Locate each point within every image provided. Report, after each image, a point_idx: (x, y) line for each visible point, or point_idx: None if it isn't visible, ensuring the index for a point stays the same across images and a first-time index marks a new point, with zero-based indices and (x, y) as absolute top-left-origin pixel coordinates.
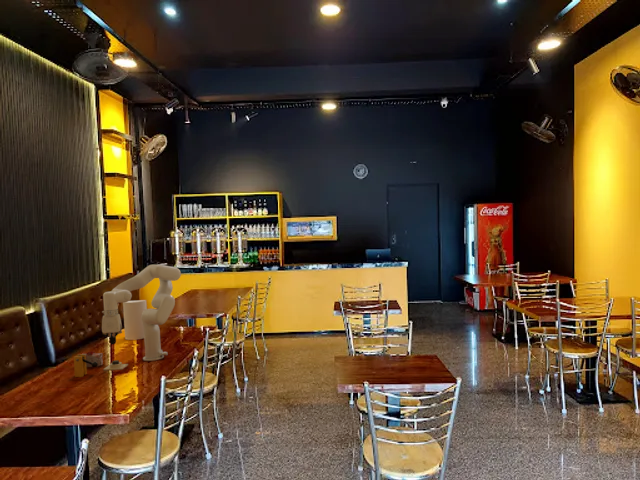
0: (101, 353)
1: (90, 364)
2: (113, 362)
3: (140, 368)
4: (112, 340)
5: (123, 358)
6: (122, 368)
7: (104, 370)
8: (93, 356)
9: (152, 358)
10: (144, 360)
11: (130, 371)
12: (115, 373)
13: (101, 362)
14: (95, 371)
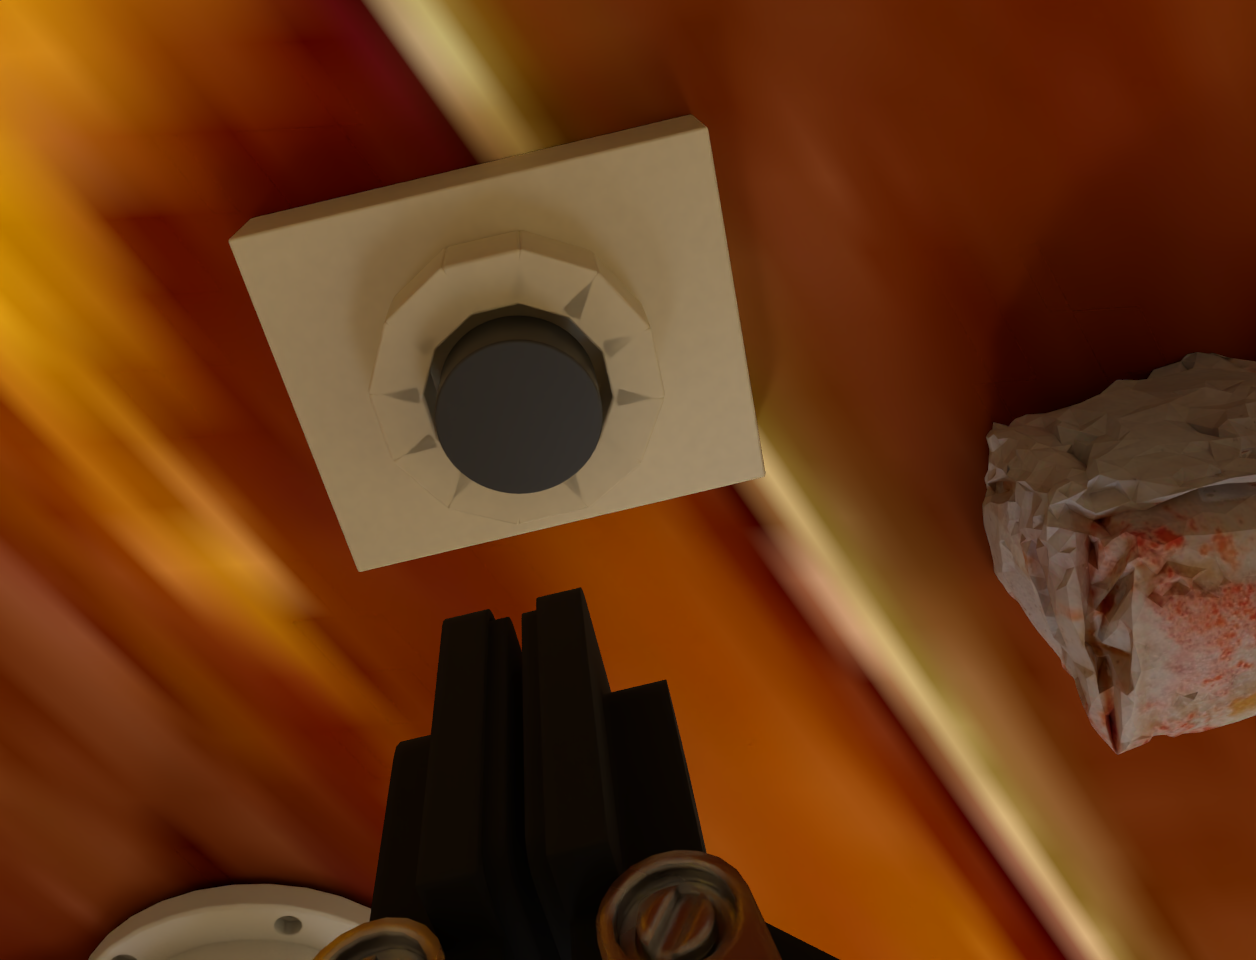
0: (1125, 713)
1: (1202, 385)
2: (522, 334)
3: (24, 498)
4: (469, 734)
5: (837, 952)
6: (230, 243)
7: (674, 126)
8: (1250, 521)
9: (179, 956)
10: (330, 895)
11: (83, 278)
12: (357, 101)
13: (998, 522)
14: (964, 226)
